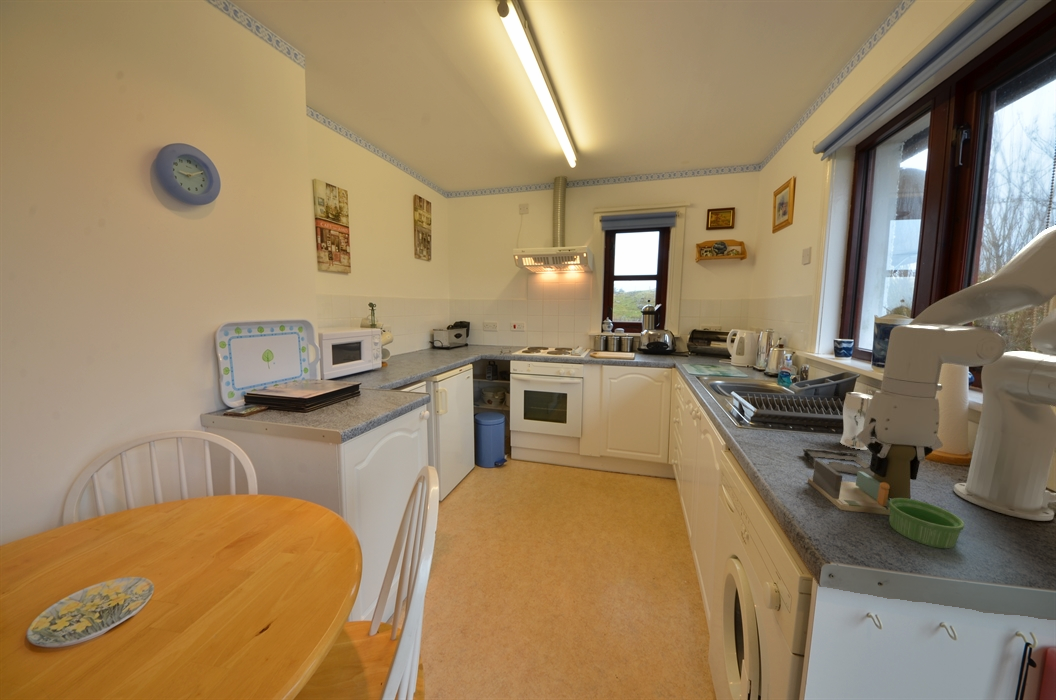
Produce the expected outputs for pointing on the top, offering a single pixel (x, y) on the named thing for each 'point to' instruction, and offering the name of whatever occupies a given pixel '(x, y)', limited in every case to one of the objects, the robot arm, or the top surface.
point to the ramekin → (925, 522)
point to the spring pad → (868, 485)
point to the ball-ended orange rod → (883, 493)
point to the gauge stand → (844, 491)
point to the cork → (898, 471)
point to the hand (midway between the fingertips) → (892, 474)
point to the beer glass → (854, 418)
